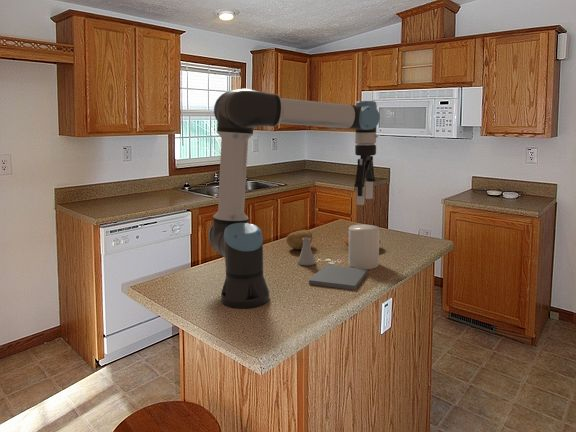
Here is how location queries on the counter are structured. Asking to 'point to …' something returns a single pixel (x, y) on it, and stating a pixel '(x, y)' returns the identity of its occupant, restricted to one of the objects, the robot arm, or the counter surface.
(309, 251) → the flask
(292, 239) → the potato
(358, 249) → the white cylinder
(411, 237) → the counter surface
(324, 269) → the slate board
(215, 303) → the counter surface
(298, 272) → the counter surface
